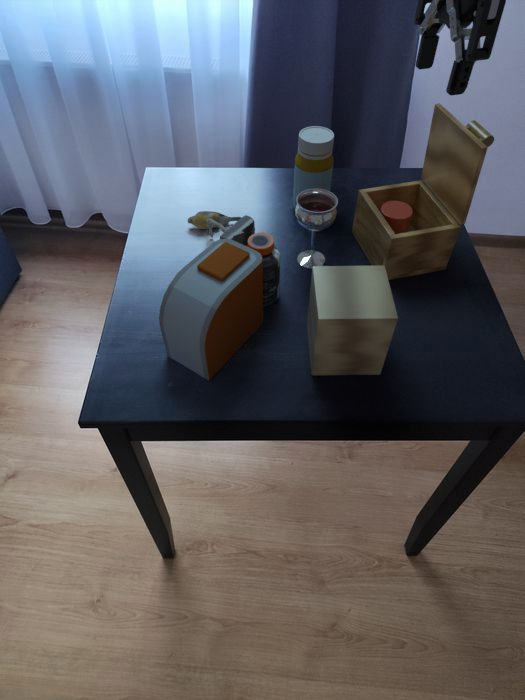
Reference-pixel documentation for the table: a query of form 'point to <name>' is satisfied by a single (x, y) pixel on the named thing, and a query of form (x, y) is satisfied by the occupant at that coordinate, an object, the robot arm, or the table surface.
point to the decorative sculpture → (215, 219)
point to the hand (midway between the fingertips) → (438, 80)
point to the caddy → (410, 247)
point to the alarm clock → (213, 306)
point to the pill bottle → (267, 265)
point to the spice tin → (397, 215)
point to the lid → (454, 160)
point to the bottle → (313, 160)
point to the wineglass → (315, 220)
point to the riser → (349, 320)
